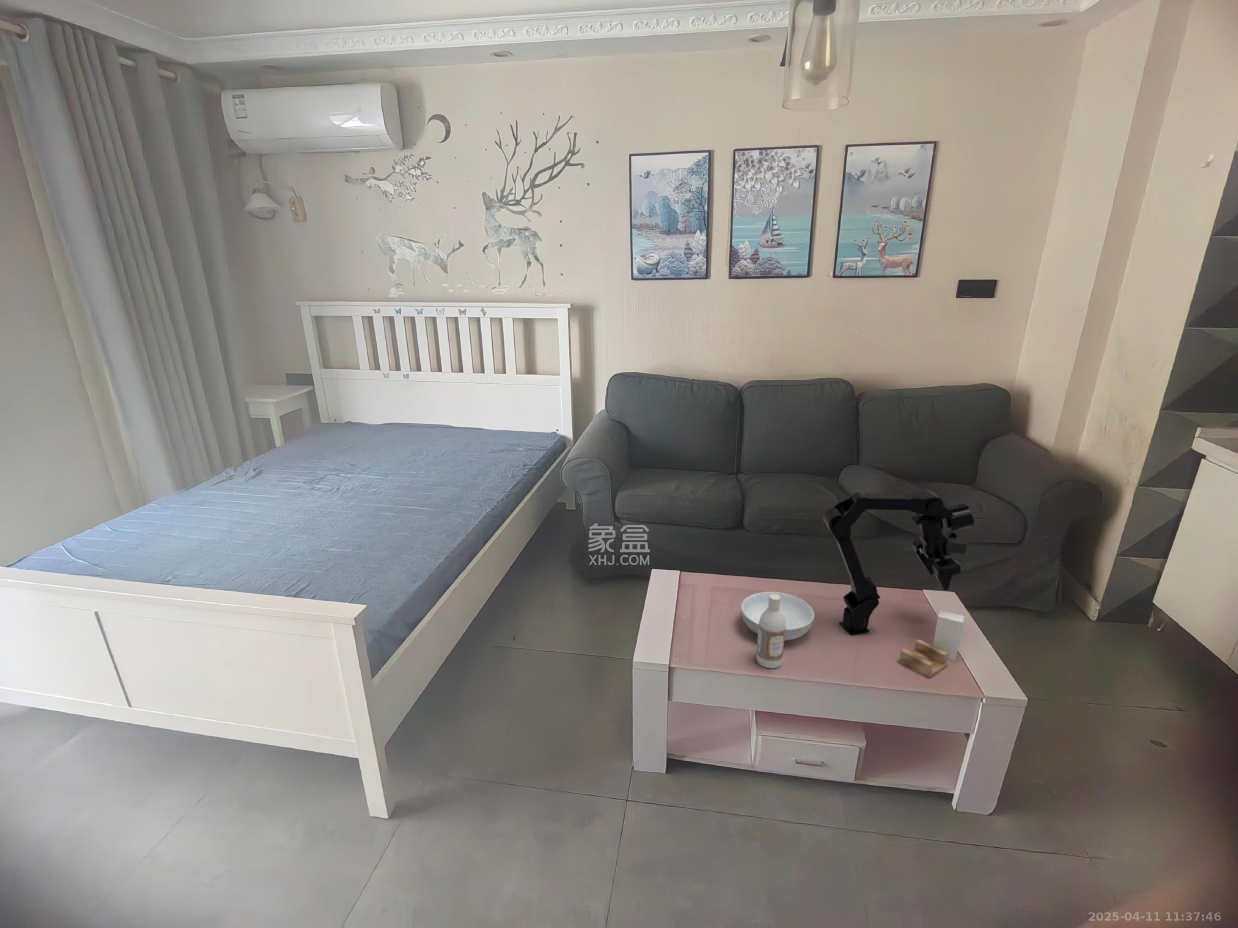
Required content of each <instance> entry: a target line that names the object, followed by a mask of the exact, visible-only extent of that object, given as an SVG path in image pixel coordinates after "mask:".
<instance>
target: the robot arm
mask: <svg viewBox="0 0 1238 928" xmlns="http://www.w3.org/2000/svg"><path fill="white" fill-rule="evenodd" d="M867 510H869V511H870V510H873V511H874V510H875V511H877V510H878V511H879V510H880V511H907V512H912V513H915V514H914V515H913V516H912V517H911V519H910V520H911V521H912V522H913V523H914V524H915V525H916V526H918V525H919V526H920V534H921V535H918V536H919V538H917V539H913V541H912V542H911V547H912V550H913V551H914V553H915V554H916V556H917V558H918V559H919V560H920V563H922V565H923V566H924V567H925V569H926V571H927V572H928V573H929V575H930V576H932V575H934V576H935V577H936V579H937V581H938V583H939V585H940V586H941V587H942V589H943V590H944V591H948V590H949V589H950V585H951V582H952V578H953V577H954V575H959V574H962V572H963V569H962V565H961V564H960V563H959V562H958V561H957V560H955V559H954V558H951V557H950V558H947V557H949V556H952V554H961V555H964V556H965V555H966V553H967V550H968V548H969V543H968V542H967V541H966V540H965V539H963V538H962V537H960V536H957V533H956V532H954V531H958V530H963V529H966V528H972V527H973V526H975V519H974V517H973V514H972V512H971V510H970V508H969V505H968V504H967V503H965V502H964V503H959V504H956V505H952V506H946V505H944V502H943V499H941V497H940V496H938V495H937V494H936V493H934V492H933V491H932V490H930V489H927V488H926V489H919V490H912V491H911V492H907V493H874V492H873V493H872V492H870V493H869V492H868V493H867V492H866V493H865V492H860V491H859V492H855V493H853V494H851V496H849V497H848V498H846V499H845V498H844V499H843V500H841V501H839V502H838V503H836V504H835V505H833V506H832V507H829V508H827V510H825V512H824V513H823V514H822V520H823V522H824V523H825V525H826V526H827V528H828V530H829V532H830V533H831V534H832V536H833V538H834V539H835V541H836V544H837V547H838V549H839V551H840V553H841V557H842V559H843V561H844V565H845V568H846V569H847V573H848V576H849V577H850V589H851V590H850V591H849V592H848V593H846V594H845V595H843V598H842V599H843V601H844V604H845V605H846V607H845V608H844V609H843V614H842V615H843V617H842V621H839V622H838V625H839V626H840V627H842V629H843V630H845V632H847V633H848V634H849V635H850V636H854V635H857V636H858V635H862V634H869V633H870V632H871V630H870V629H869V622H870V621H869V620H870V617H871V615H872V614H873V612H874V610H875V609H876V608H878V606H879V605H880V600H879V599H881V598H882V597H881V596H880V595H879V593H878V589H877V586H876V585H875V583H874V581H873V580H872V579H871V577H870V576H867V577H866V575H865V573H864V570H863V567H862V565H861V563H860V560H859V557H858V553H857V552H856V549H855V547H854V543H853V540H852V528H851V526H853V525H854V524H855V523H856V522H857V520H859V518H860V516H862V514H863V513H864V512H865V511H867ZM944 528H945V529H948V530H949V531H947V533H945V531H944Z"/></svg>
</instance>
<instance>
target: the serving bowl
mask: <svg viewBox="0 0 1238 928" xmlns="http://www.w3.org/2000/svg"><path fill="white" fill-rule="evenodd" d="M771 594H777V595H779V596H780V608H779V609H780V611H781V612H782V614H783V616H784V618H785V622H786V630H785V640H784V641H790V640H791V641H792V640H795V639H797V638H798V639H799V638H800V637H802V636H804V635H805V634H806V633H807V632H809V630H810V629H811V627H812V625H813V623H814V620H815V612H814V609H813V608H812V606H811V605H810V604H809V603H807V602H806V601H805V600H803V599H801V598H800V597H797V596H795V595H793V594H789V593H784V592H779V591H778V592H777V591H764V592H763V591H762V592H756V593H754V594H750V595H749V596H747V597H746V598H744V599H743V601H742V602H741V605H740V611H741V615H742V619H743V622H744V623H745V625H746V626H747V627H748V628H749V629H750V630H751V631H752V632H754V633H755V634H757V635H758V630H759V621H760V617H761V615H762V614H763V612H764V611H765V610H766V609H767V608H768V603H769V596H770V595H771Z"/></svg>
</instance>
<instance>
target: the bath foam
mask: <svg viewBox="0 0 1238 928" xmlns="http://www.w3.org/2000/svg"><path fill="white" fill-rule="evenodd" d="M779 608H780V596H779V595H777V594H771V595H770V596H769V603H768V608H767V609H766V610H765V611H764V612H763V614H762V615H761V617H760V621H759V630H758V634H757V643H756V657H755V658H756V662H757V663H758V664H759V666H760V665H761V667H764V668H767V669H776V668H779V667H781V665H782V664H783V658H784V649H785V641H786V640H785V630H786V622H785V618H784V616H783V614H782V612H781V611H780V609H779Z"/></svg>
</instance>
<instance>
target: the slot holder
mask: <svg viewBox="0 0 1238 928" xmlns="http://www.w3.org/2000/svg"><path fill="white" fill-rule="evenodd" d="M947 656H948V653H947V652H945V651H943V650H941V649H938V648H936V647H934V646H933V644H930V643H928V642H926V641H924V640H922V639H917V640H916V641H915V647H914V648H912V650H908V649H907V648H903V649H900V655H899V658H897V661H896V662H898V663H899V664H901V665H902V666H905V667H907V668H908V669H910V670H912V671H914V672H916V673H918V674H919V675H921V676H924V677H925V678H926V679H931V678H932V677H934V676H935V675H937V674H938V673H940V672H941V671H943V670H944V669H946V668H947V667H948V666H949V663H947V661H948V659H947Z"/></svg>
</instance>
